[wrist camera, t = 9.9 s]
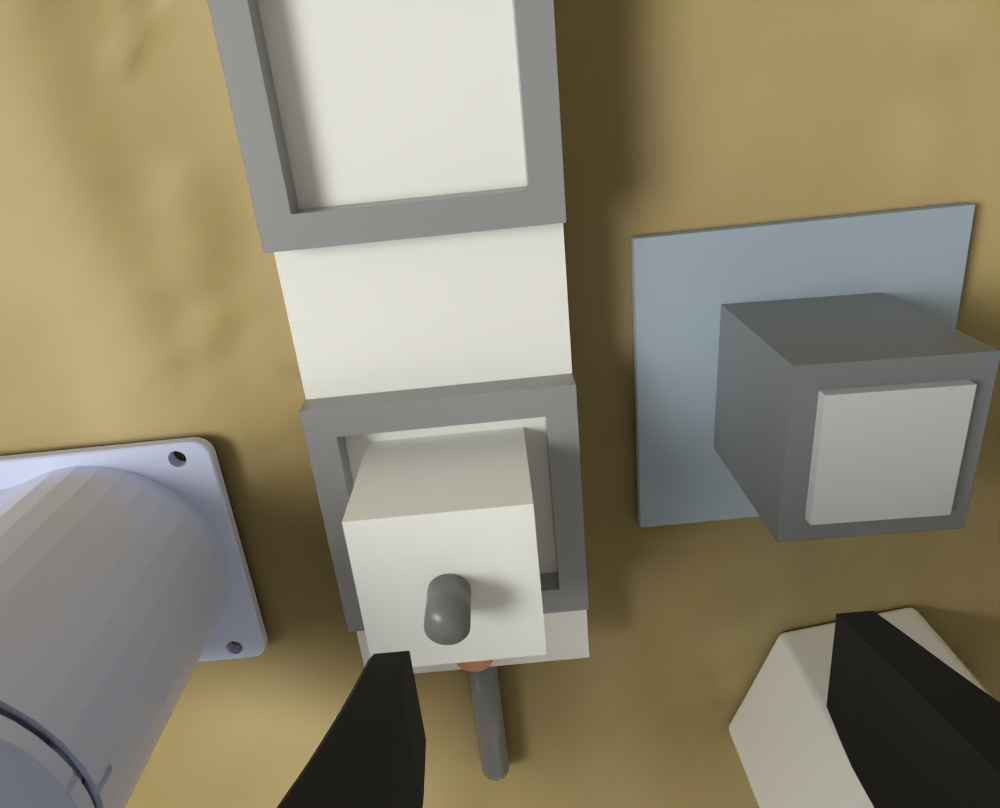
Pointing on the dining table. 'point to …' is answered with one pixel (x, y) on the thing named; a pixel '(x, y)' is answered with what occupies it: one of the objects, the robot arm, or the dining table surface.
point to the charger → (850, 414)
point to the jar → (810, 719)
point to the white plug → (447, 548)
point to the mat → (751, 278)
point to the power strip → (420, 255)
